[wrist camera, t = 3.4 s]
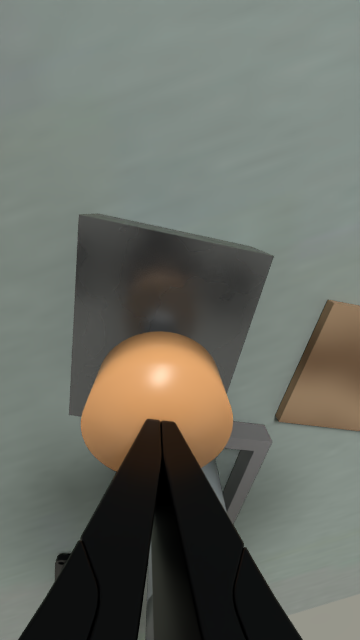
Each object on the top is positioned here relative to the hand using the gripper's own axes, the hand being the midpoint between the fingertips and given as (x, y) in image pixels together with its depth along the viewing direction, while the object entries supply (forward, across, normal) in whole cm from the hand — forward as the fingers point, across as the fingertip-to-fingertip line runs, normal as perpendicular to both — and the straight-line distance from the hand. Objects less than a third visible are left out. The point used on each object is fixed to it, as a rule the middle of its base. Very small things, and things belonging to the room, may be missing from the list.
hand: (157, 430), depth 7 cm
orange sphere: (+4, 0, 0) cm, 4 cm away
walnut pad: (+8, -14, +1) cm, 16 cm away
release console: (+8, 0, 0) cm, 8 cm away
